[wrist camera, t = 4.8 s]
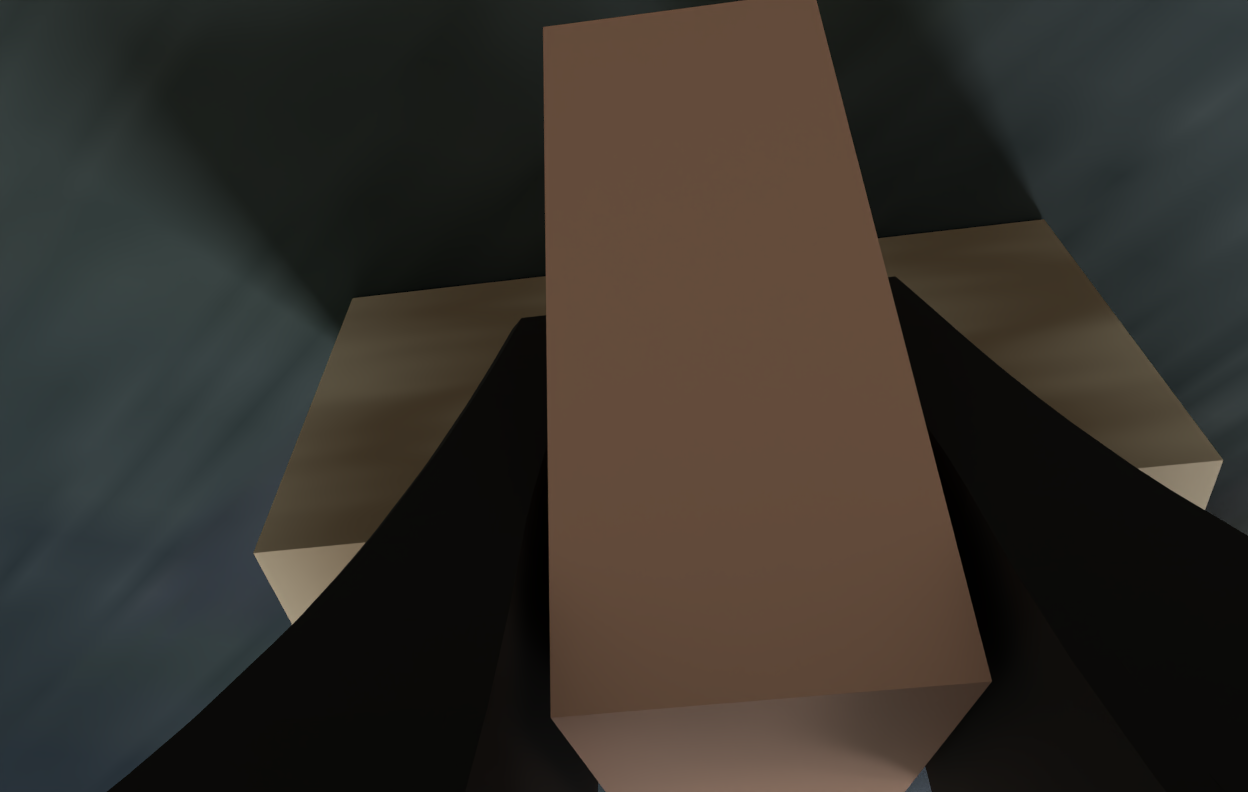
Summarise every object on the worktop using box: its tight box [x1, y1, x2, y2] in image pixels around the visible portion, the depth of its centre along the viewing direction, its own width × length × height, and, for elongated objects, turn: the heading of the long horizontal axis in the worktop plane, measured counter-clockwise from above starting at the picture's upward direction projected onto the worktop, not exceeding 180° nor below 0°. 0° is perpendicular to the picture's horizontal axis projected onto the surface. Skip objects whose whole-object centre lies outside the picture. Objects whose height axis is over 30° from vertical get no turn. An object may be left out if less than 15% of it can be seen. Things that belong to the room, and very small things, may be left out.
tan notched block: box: [254, 219, 1223, 624], centre depth 15 cm, size 12×2×6 cm, turn 97°
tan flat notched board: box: [543, 0, 992, 792], centre depth 12 cm, size 12×2×6 cm, turn 7°
